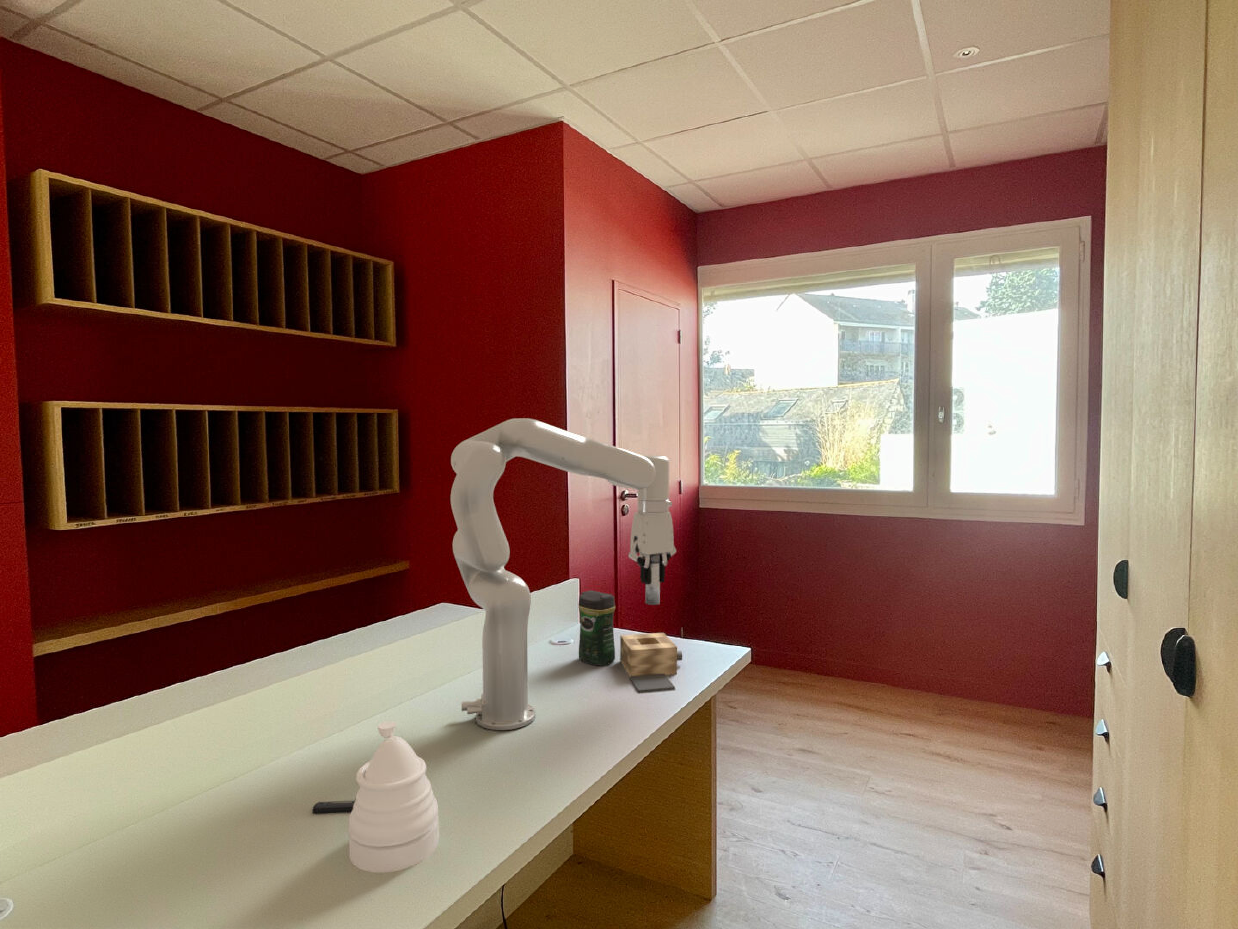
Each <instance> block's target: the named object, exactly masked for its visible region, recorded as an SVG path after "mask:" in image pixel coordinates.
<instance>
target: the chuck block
mask: <svg viewBox="0 0 1238 929" xmlns="http://www.w3.org/2000/svg"><path fill="white" fill-rule="evenodd" d="M619 639H620V640H619V641H620V642H619V643H620V645H619V646H620V647H619V649H620V650H619V652H620V653H619V654H620V655H619V656H620V658H619V662H620V664H621V665H622V664H623V665H622V666H623V668H624V669H625V671H626V670H627V671H626V673H627V675H629V677H630V676H639V675H651V674H665V675H666V676H670V674H671V675H677V674H678V661H683V653H682V650H678V646H677V645H676V644H675V643H674V642H673V641H672V640H671V639H670V638H669V637H668V636H667V634H666V633H665V632H656V633H654V632H653V633H641V634H640V633H639V634H624V635H623V634H622V635H620V637H619Z"/></svg>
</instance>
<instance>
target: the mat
mask: <svg viewBox="0 0 1238 929" xmlns="http://www.w3.org/2000/svg"><path fill="white" fill-rule="evenodd" d="M629 680H630V682H631V681H632V682H631V683H632V685H633V687H634V688H635V689H636V691H637V692H638V693H650V692H661V691H662V690H663V691H672V690H671V689H674V690H676V686H675V685H674V684H673V683H672V681H671V680H670V679H669V678H668V675H665V674H651V675H639V676H630V675H629Z"/></svg>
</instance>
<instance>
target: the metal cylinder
mask: <svg viewBox="0 0 1238 929" xmlns="http://www.w3.org/2000/svg"><path fill="white" fill-rule="evenodd" d="M648 568H650V569H651V583H650V584H649V585H647V584H645V604H646V605H649V606H650V605H651V606H656V605H660V604H661V603H660V601H661V600H660V599H661V598H660V596H661V595H660V594H661V582H660V554H654V555H650V559H649V567H648Z"/></svg>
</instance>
